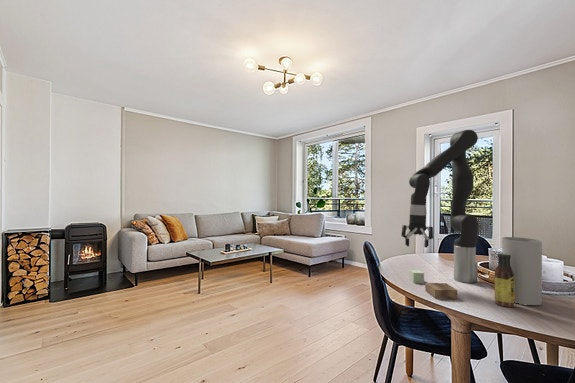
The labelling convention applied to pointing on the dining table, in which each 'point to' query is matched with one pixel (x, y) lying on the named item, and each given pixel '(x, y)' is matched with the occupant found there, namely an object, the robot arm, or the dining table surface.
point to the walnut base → (441, 290)
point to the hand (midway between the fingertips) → (416, 246)
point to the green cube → (416, 276)
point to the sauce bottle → (504, 282)
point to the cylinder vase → (525, 268)
